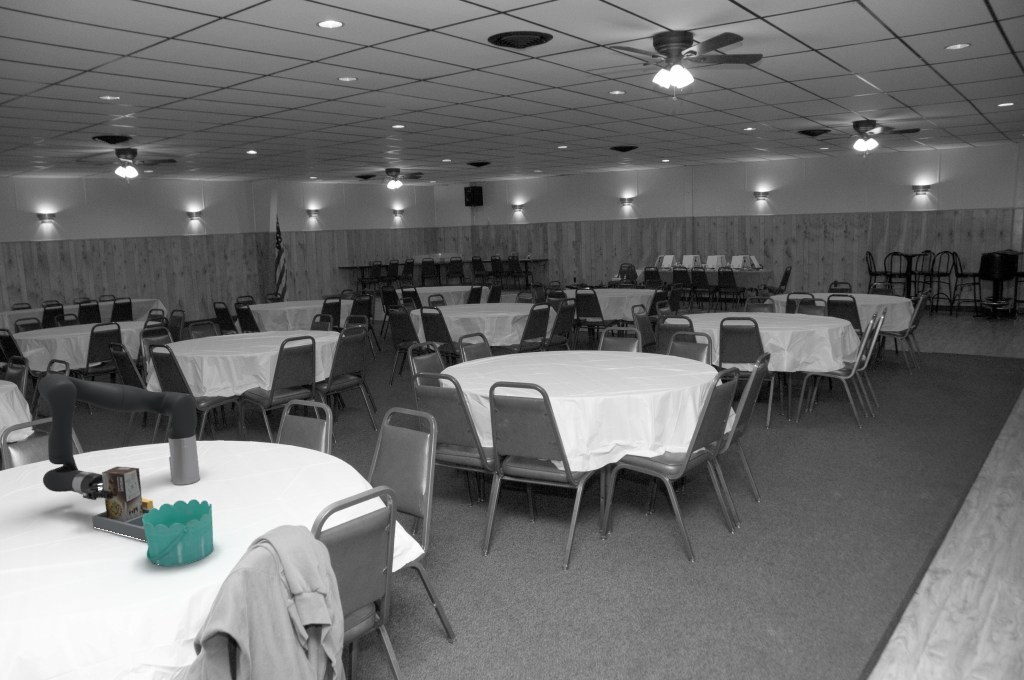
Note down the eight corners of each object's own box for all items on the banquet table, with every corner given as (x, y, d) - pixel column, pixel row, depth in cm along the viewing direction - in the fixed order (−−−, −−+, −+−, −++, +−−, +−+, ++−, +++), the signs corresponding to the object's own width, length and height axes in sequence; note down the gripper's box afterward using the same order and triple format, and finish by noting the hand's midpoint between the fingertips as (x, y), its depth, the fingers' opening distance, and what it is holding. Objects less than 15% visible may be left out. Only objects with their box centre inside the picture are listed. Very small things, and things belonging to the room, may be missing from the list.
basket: (213, 562, 217) (208, 517, 215) (141, 572, 212) (136, 527, 210) (218, 536, 235) (214, 495, 233) (152, 546, 230) (147, 504, 228)
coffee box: (144, 516, 249) (140, 467, 247) (128, 524, 243) (124, 473, 241) (122, 514, 252) (117, 465, 250) (106, 521, 246) (101, 471, 244)
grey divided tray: (93, 528, 246) (91, 510, 245) (134, 513, 258) (132, 495, 257) (153, 544, 231) (151, 524, 231) (193, 527, 243) (191, 509, 243)
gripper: (67, 479, 247) (99, 487, 239) (110, 466, 260) (141, 473, 251) (70, 502, 248) (102, 510, 240) (112, 488, 261) (144, 495, 253)
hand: (122, 491), depth 246 cm, fingers closed on coffee box, 7 cm apart
